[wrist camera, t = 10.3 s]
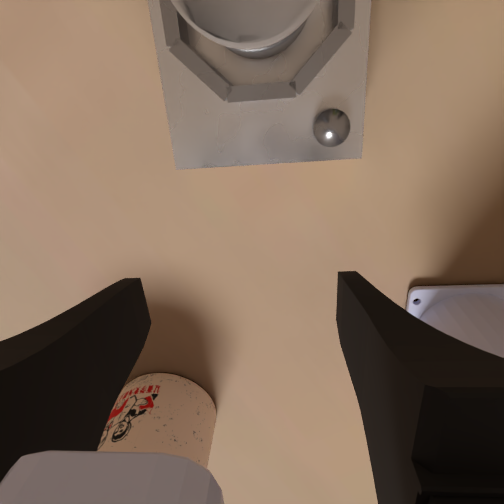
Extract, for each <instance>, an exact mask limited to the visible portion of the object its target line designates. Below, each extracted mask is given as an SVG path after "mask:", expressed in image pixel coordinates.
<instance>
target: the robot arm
mask: <svg viewBox="0 0 504 504" xmlns="http://www.w3.org/2000/svg"><path fill="white" fill-rule="evenodd" d="M417 298H418V301H416V302H413V301H414V300H415V299H417ZM336 321H337V327H338V333H339V339H340V344H341V348H342V351H343V354H344V357H345V361H346V364H347V367H348V370H349V373H350V377H351V380H352V383H353V386H354V389H355V392H356V396H357V399H358V403H359V406H360V410H361V415H362V420H363V425H364V430H365V435H366V440H367V445H368V450H369V455H370V461H371V466H372V471H373V477H374V483H375V488H376V494H377V500H378V504H504V284H488V285H451V286H417V287H413V288H411V289H410V290H409V293H408V300H407V307H406V310H404V309H403V308H402V307H400V306H399V305H397V304H396V303H394V302H393V301H392V300H390V299H389V298H388V297H386V296H385V295H384V294H383V293H381V292H380V291H379V290H378V289H376V288H375V287H374V286H373V285H372V284H371V283H369V282H368V281H367V280H366V279H365V278H364V277H362V276H361V275H360V274H359V273H358V272H356V271H345V272H338V286H337V313H336ZM150 326H151V319H150V315H149V311H148V307H147V303H146V299H145V295H144V291H143V287H142V283H141V279H140V278H124V279H122V280H120V281H118V282H116V283H114V284H112V285H110V286H109V287H107V288H105V289H103V290H102V291H100V292H98V293H97V294H95V295H93V296H91V297H90V298H88V299H86V300H85V301H83V302H81V303H80V304H78V305H76V306H74V307H72V308H71V309H69V310H67V311H65V312H63V313H61V314H60V315H58V316H56V317H54V318H52V319H50V320H48V321H46V322H44V323H42V324H40V325H38V326H36V327H34V328H32V329H29V330H27V331H25V332H23V333H21V334H18V335H16V336H13V337H11V338H8V339H6V340H3V341H0V504H224V501H223V495H222V490H221V488H220V487H219V485H218V483H217V482H216V480H215V479H214V477H213V475H212V474H211V472H210V471H209V470H208V469H207V468H205V467H203V466H202V465H200V464H198V463H196V462H195V461H193V460H191V459H190V458H188V457H183V456H178V455H173V454H167V453H158V452H103V451H97V449H98V446H99V443H100V440H101V437H102V435H103V432H104V429H105V427H106V424H107V422H108V419H109V416H110V414H111V411H112V409H113V407H114V404H115V402H116V400H117V398H118V396H119V394H120V392H121V390H122V388H123V386H124V384H125V382H126V380H127V378H128V376H129V375H130V373H131V371H132V369H133V367H134V365H135V363H136V361H137V359H138V357H139V355H140V353H141V351H142V349H143V347H144V344H145V341H146V338H147V335H148V332H149V329H150Z"/></svg>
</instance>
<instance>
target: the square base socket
mask: <svg viewBox="0 0 504 504" xmlns="http://www.w3.org/2000/svg"><path fill="white" fill-rule="evenodd" d="M148 5H149V11H150V17H151V23H152V29H153V35H154V41H155V47H156V53H157V59H158V65H159V71H160V77H161V83H162V89H163V95H164V101H165V106H166V112H167V118H168V124H169V130H170V136H171V142H172V148H173V154H174V160H175V166H176V170H179V169H195V168H211V167H227V166H244V165H260V164H276V163H293V162H309V161H325V160H341V159H358V158H362V146H363V130H364V113H365V97H366V80H367V64H368V47H369V31H370V14H371V0H319V1H318V3H317V5H316V7H315V8H314V10H313V11H312V12H311V14H310V15H309V17H308V19H307V21H306V24H305V26H304V28H303V30H302V31H301V33H300V34H299V36H298V37H297V38H296V40H295V41H294V42H293V43H292V44H291V45H290V46H289V47H288V48H286V49H285V50H284V51H282V52H280V53H279V54H277V55H274V56H272V57H268V58H263V59H250V58H245V57H242V56H239V55H237V54H235V53H233V52H232V51H230V50H229V49H227V48H226V47H225V46H223V45H220V44H218V43H216V42H214V41H212V40H210V39H208V38H207V37H205V36H204V35H202V34H201V33H199V32H198V31H197V30H195V29H194V28H193V27H192V26H191V25H190V24H189V23H188V22H186V20H185V19H184V18H183V17H182V16H181V15H180V13H179V12H178V11H177V9H176V8H175V6H174V5H173V3H172V2H171V0H148Z"/></svg>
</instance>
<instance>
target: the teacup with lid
mask: <svg viewBox="0 0 504 504" xmlns="http://www.w3.org/2000/svg"><path fill="white" fill-rule="evenodd" d="M215 423H216V409H215V405H214V403H213V401H212V399H211V398H210V396H209V395H208V394H207V392H206V391H205V390H204V389H202V388H201V387H200V386H199V385H197V384H196V383H194V382H192V381H191V380H189V379H186V378H184V377H181V376H178V375H174V374H168V373H152V374H147V375H143V376H140V377H137V378H135V379H134V380H132V381H131V382H129V383H128V384H127V385H126V386H125V387H124V388H123V390H122V391H121V393H120V395H119V397H118V399H117V401H116V403H115V405H114V407H113V409H112V411H111V414H110V416H109V419H108V422H107V424H106V427H105V429H104V432H103V435H102V437H101V440H100V443H99V446H98V449H97V451H103V452H158V453H167V454H173V455H178V456H183V457H188V458H190V459H191V460H193V461H195V462H196V463H198V464H200V465H202V466H203V467H205V468H207V465H208V460H209V455H210V449H211V444H212V439H213V433H214V428H215Z"/></svg>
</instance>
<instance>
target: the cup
mask: <svg viewBox="0 0 504 504" xmlns="http://www.w3.org/2000/svg"><path fill="white" fill-rule="evenodd" d="M318 1H319V0H171V2H172V3H173V5H174V6H175V8H176V9H177V11H178V12H179V13H180V15H181V16H182V17H183V18H184V19H185V20H186V22H188V23H189V24H190V25H191V26H192V27H193V28H194V29H195V30H197V31H198V32H199V33H201V34H202V35H204V36H205V37H207V38H208V39H210V40H212V41H214V42H216V43H218V44H220V45H223V46H225V47H226V48H227V49H229V50H230V51H232V52H233V53H235V54H237V55H239V56H242V57H245V58H250V59H263V58H268V57H272V56H274V55H277V54H279V53H280V52H282V51H284V50H285V49H286V48H288V47H289V46H290V45H291V44H292V43H293V42H294V41H295V40H296V38H297V37H298V36H299V34H300V33H301V31H302V30H303V28H304V26H305V24H306V21H307V19H308V17H309V15H310V14H311V12H312V11H313V10H314V8H315V7H316V5H317V3H318Z"/></svg>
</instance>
